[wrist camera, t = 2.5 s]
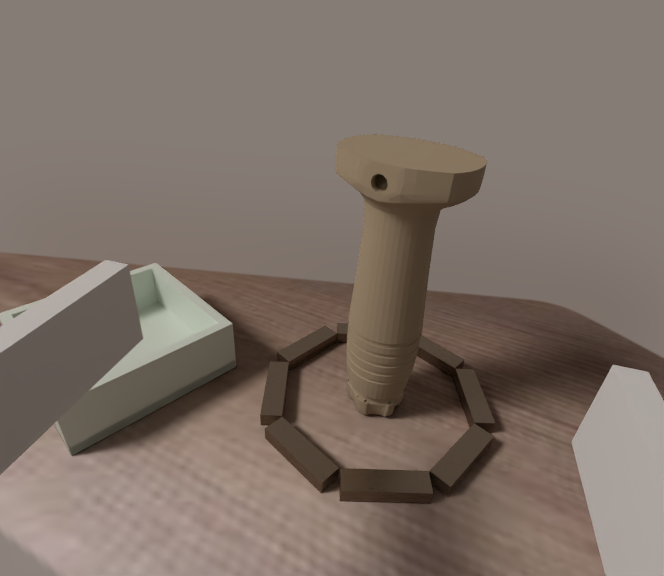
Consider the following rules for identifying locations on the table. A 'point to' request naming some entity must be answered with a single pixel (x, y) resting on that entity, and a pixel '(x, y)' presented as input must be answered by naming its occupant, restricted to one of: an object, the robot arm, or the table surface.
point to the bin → (151, 359)
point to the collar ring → (371, 481)
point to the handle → (396, 253)
